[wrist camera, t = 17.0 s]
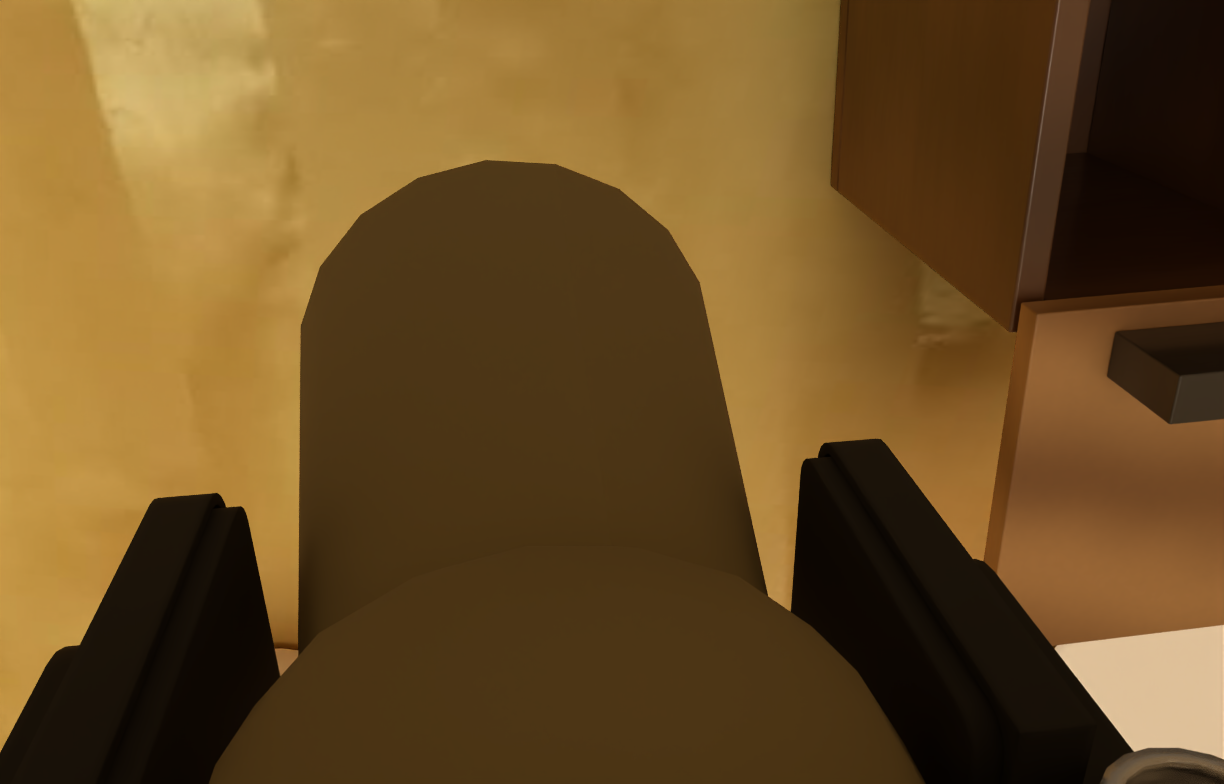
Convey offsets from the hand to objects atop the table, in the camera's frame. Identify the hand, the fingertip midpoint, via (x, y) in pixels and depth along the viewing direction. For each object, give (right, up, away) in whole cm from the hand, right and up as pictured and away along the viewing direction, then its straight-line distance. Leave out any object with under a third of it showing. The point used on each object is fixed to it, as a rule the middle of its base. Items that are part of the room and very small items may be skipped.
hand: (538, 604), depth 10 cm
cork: (-1, +3, +5) cm, 6 cm away
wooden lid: (+16, 0, +17) cm, 23 cm away
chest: (+13, +14, +26) cm, 32 cm away
